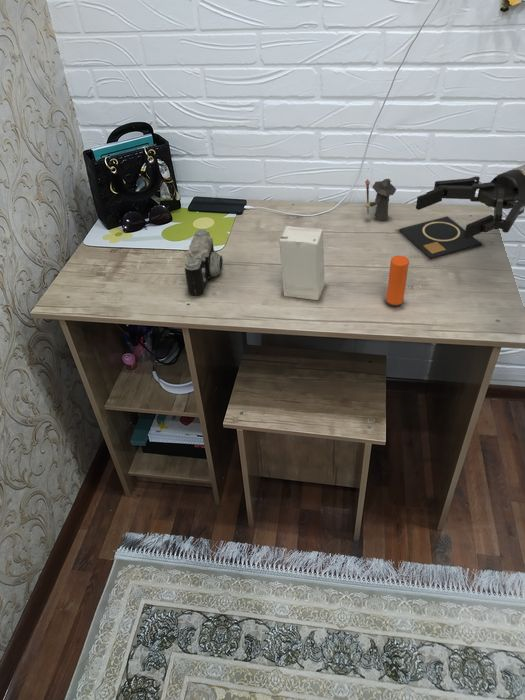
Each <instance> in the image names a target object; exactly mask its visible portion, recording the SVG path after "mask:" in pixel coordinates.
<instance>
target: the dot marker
mask: <svg viewBox="0 0 525 700" xmlns="http://www.w3.org/2000/svg"><path fill="white" fill-rule="evenodd" d="M409 264H410V259H409V258H408V257H407V256H404V255H394V256H392V257H391V259H390V264H389V272H388V279H387V288H386V297H385V301H386V303H387V304H388V306H390V307H391V308H398V307H400V306H401V304H403V302H404V300H405V292H406V285H407V280H408V278H407V277H408V271H409Z"/></svg>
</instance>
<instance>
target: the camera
mask: <svg viewBox="0 0 525 700" xmlns="http://www.w3.org/2000/svg"><path fill="white" fill-rule="evenodd" d="M186 257H187V258H186V261H185V263H184V266H183V268H184V273H185V279H186V284H187V291H188V295H189V296H190V297H193V298H198V297H203V296H204V294H205V291H206V289H207V284H208V282H209V279H211V278H214V277H217V276H218V275H220V274H222V273H223V269H224V259H223V256H222V255H221V254H219V253H218V252H217V251H215V249H214V240H213V238H212V237H211V234H210V231H208V230H207V229H205V228H199V229H197V230H196V231H195V232H194V234H193V237H192V240H191V241H190V244H189V247H188V251H187V254H186Z"/></svg>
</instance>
